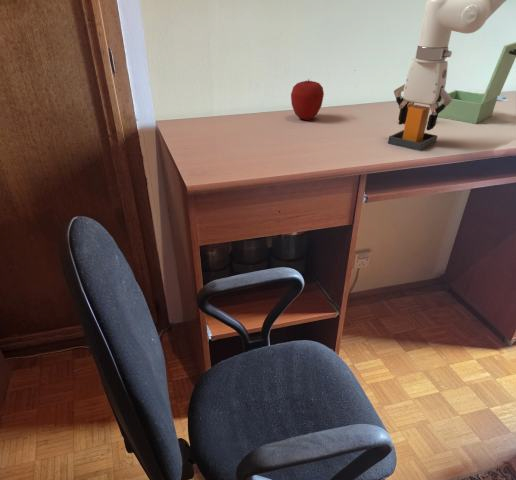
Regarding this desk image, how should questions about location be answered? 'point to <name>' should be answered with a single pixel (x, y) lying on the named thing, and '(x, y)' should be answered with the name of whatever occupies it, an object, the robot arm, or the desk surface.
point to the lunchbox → (467, 107)
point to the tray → (427, 141)
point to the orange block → (415, 123)
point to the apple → (307, 99)
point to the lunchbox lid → (500, 72)
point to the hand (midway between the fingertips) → (415, 126)
